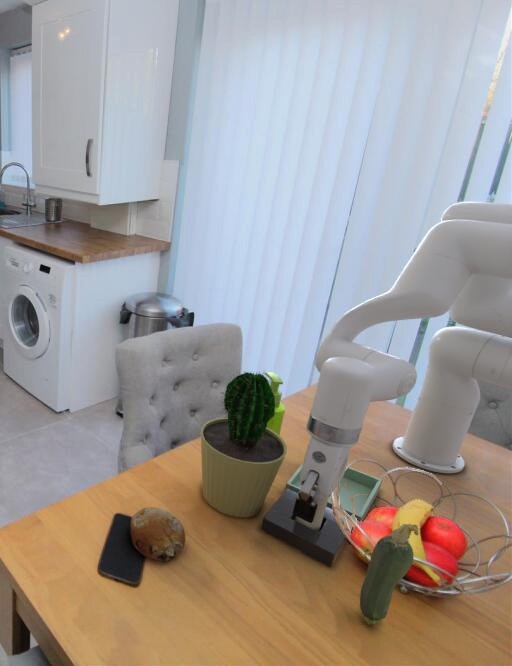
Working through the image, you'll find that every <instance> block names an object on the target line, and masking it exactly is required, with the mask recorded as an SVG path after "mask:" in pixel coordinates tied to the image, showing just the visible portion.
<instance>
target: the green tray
mask: <svg viewBox="0 0 512 666" xmlns="http://www.w3.org/2000/svg"><path fill="white" fill-rule="evenodd" d="M302 465H303V462H302V463H301V464H300V466H299V467H298V468H297V470H295V472H294V473H293V474H292V475H291V477H290V478H289V479H288V481H287V482H286V483H285V487H284V492H285V491H286V489H289V490H291V491H294V492H296V493H299V491H300V489H301V487H302V485H301V484H300V482H299V478H300V473H301V469H302ZM347 466H348V465H346V467H347ZM348 467H349V468H348V469H347V470H346V471H345V473H344V476H343V477H342V479H341V481H340V482H339V483H340V502H341V507H342V508H343V509H344V510H345V511H346V512H347V513H348V514H349V515H350V516H351V515H352V514H353V511H352V503H351V499H350V496H353V497H354V496H355V495H357V494H361V495H358V496H355V497H354V507H355V517H356V518H357V520H358V521H359V522H360V521H361V520H363V521H364V519H365V517H366V515H368V512H369V510H370V508H371V506H372V505H373V503H374V501H375V499H376V497H377V496H378V494H379V492H380V489H381V486H382V483H383V479H381V478H379V477H376V476H374V475H372V474H369V473H366V472H363V471H361V470H359V469H356V468H354V467H351V466H348ZM345 483H346V484H347V486H348V489H349V490H348V489H347V487H346V485H345ZM334 490H335V489H334ZM284 492H283V493H284ZM334 494H335V491H334ZM362 494H368V495H362ZM369 495H370V496H369ZM334 496H335V495H334ZM373 496H376V497H375V498H374V497H373ZM326 507H328V508H331V509H332V502H331V496H330V497H329V498H328V502H327V505H326Z"/></svg>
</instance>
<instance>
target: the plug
mask: <svg viewBox="0 0 512 666" xmlns="http://www.w3.org/2000/svg"><path fill="white" fill-rule="evenodd" d="M314 487H316V488H319V487H318V485H314ZM315 493H316V492H315V491H313V490H312V491H311V495H310V496H312V498H313V497H314V495H315ZM328 498H329V496H325V495H323V494H321V493H320V495H319V498H318V500H317V502H316V504H317V505H318V506H317V510H316V513H315V517H314V520H313V522H312V523H309V522H307V521H305V520H303V519H301V518H299V517H297V516H296V519H295V520H294V521H296V522H298V523H300V524H302V525H304V526H306V527H308V528H310V529H312V530H314V531H316V532H318V533H319V532H320V530H321V529H320V527H321V523H322V520H323V516H324V513H325V509H326V505H327V502H328Z"/></svg>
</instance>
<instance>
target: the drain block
mask: <svg viewBox="0 0 512 666" xmlns="http://www.w3.org/2000/svg"><path fill="white" fill-rule="evenodd" d="M284 491H285V490H284ZM297 496H298V493H296V492H294V491H291V490H289V489H286V491H285V492H283V493H282V494H281V495H280V496H279V498H278V499H277V501H276V502H275V503H274V504H273V505H272V507H271V508H270V509H269V510H268V512H267V513H266V514H265V516H264V517H263V519H262V523H261V527H260V530H261V531H262V532H264V533H265V534H268V535H270V536H271V537H274V538H275V539H277V540H279V541H281V542H283V543H285V544H286V545H288V546H290V547H292V548H294V549H296V550H298V551H300V552H301V553H303V554H305V555H307V556H309V557H311V558H313V559H314V560H316V561H318V562H320V563H322V564H324V565H326V566H328V567H329V568H332V566H333V565H334V563H335V562H336V559H337V558H338V556H339V554H340V552H341V550H342V549H343V547H344V545H345V544H346V542H347V540H348V538H347V539H346V537H345V535H344V534H343V532H342V530H341V529H340V527H339V525H338V524H337V522H336V519H335V517H334V514H333V509H331V508H328V507H326V509H325V513H324V516H323V520H322V523H321V527H320V530H319V533H318V532H316V531H314V530H312V529H310V528H308V527H306V526H304V525H302V524H300V523H298V522H296V521H295V520H296V516H295V515H293V509H294V505H295V502H296V498H297ZM340 520H341V522H342V524H343V525H344V519H343V516H340Z"/></svg>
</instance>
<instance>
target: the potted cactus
mask: <svg viewBox="0 0 512 666" xmlns="http://www.w3.org/2000/svg"><path fill="white" fill-rule="evenodd" d="M237 371H239V369H238V370H237ZM264 372H266V369H264V370H263V373H261V371H260V370H259V371H258V372H256V373H254V372H252V371H244V372H243V373H241V372H238V374H237V375H236V376H235V375H233V378H232V376H230V375H229V376H230V377H228V378H227V377H226V379H228V380H229V378H231V379H230V381H229V382H228V381H226V382H227V383H226V387H225V390H224V392H220V394H223V395H222V397H223V400H222V401H221V400H219V401H220V404H221V405H222V406H223V408H221V409H222V410H221V412H222V413H223V414H224V411H226V416H224V417H217V418H213V419H210V420H208V421H206V422H205V423H204V424H203V425H202V426H201V430H200V444H201V445H200V450H201V451H200V452H201V485H202V486H201V488H202V496H203V497H204V499H205V501H206V503H208V504H209V505H210V507H212V508H213V509H215V510H216V511H218V512H220V513H222V514H224V515H227V516H230V517H235V518H250V517H253V516H255V515H257V514H258V513H260V511H261V510H262V507H263V505H264V503H265V500H266V499H267V496H268V494H269V492H270V491H271V488H272V485H273V483H274V481H275V479H276V476H277V474H278V472H279V470H280V468H281V465H282V464H283V461H284V459H285V457H286V455H287V453H288V445H287V444H286V442H285V440H284V439H283V437H282V436H280V435H278V434H277V433H275V432H274V431H272V430H271V429H269V428H267V426H268V427H269V425H268V424H267V423H268V421H270V419H271V418H272V417H274V415H276V414H275V413H274V412H275V404H277V403H275V400H276V399H275V397H276V396H274V395H275V394H276V392H272V389H271V387H270V386H271V380H270V379H268V376H267V375H266V374H265V373H264ZM274 383H275V382H274ZM272 384H273V382H272ZM274 390H277V389H274ZM273 393H275V394H273ZM277 396H278V395H277ZM281 403H282V402H280V403H279V404H281ZM276 408H277V407H276ZM276 411H277V410H276ZM276 413H277V412H276ZM270 422H271V421H270ZM272 422H273V421H272ZM273 423H274V422H273Z"/></svg>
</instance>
